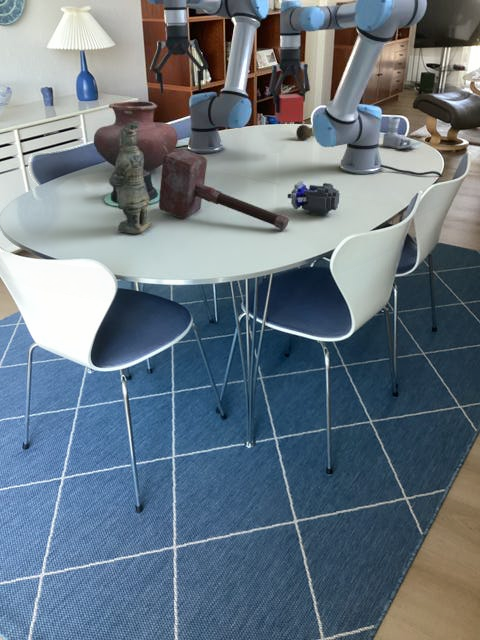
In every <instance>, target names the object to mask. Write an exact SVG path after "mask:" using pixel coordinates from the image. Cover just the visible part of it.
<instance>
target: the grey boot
mask: <svg viewBox="0 0 480 640" xmlns="http://www.w3.org/2000/svg"><path fill="white" fill-rule="evenodd" d="M400 121H401V118H400V117H398V116H391V117H389V120H388V132H385V133H384V134H383V138H382V146H383V147H385V148H386V147H387V148H393V149H396V150H402V149H410V148H411V149H412V148H413V147H416V146H418V145H422V142H420V141H419V142H413V139H411V138H407V137H406V136H405V135H404V134H399V133H398V132H399V131H398V130H399V125H400Z"/></svg>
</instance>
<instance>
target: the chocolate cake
mask: <svg viewBox="0 0 480 640" xmlns="http://www.w3.org/2000/svg"><path fill="white" fill-rule="evenodd" d="M113 175H114V171H112V173H111V176H113ZM143 178H144V182H145V184H146V188H147V192H148V195H149V197H150V204H154V203H157V202H159V198H160V188H156V187H154V185H153V182H152V174H151V172H150V171H148V172H147V171H146V170H144V169H143ZM103 200H104V202H105V203H106V204H108V205H109V206H115V207H118V202H117V192H116V189H115V188H114V187H112V191H111V193H108V194H107V195H106V196H104V198H103ZM150 204H149V205H150Z"/></svg>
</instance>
